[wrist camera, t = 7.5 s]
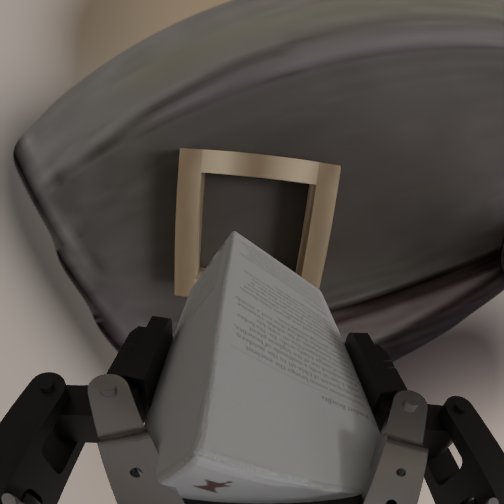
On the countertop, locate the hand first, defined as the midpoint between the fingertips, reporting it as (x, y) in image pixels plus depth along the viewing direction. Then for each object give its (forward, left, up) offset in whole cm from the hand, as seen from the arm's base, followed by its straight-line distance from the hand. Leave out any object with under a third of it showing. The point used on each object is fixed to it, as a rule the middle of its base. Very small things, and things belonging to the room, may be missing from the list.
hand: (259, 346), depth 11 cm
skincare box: (0, 0, -5) cm, 5 cm away
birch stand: (0, 0, -19) cm, 19 cm away
